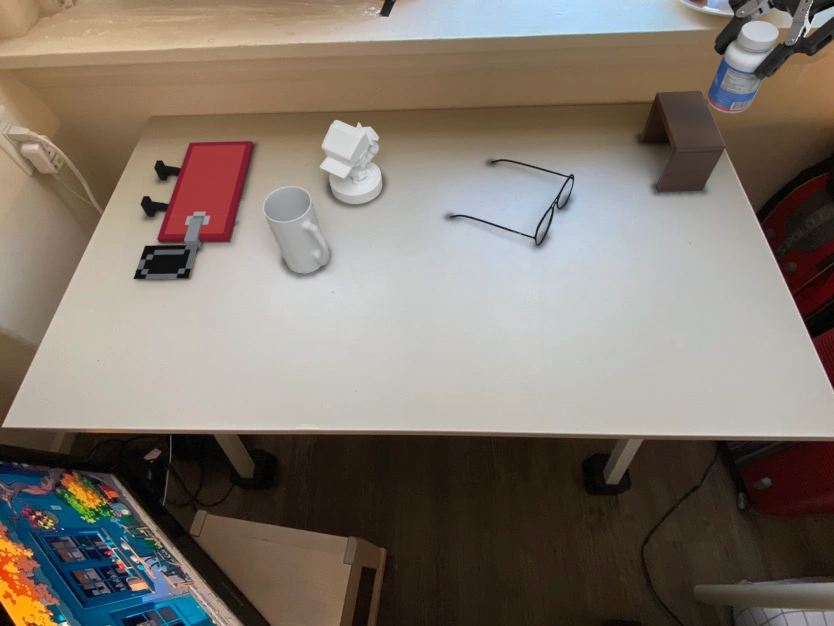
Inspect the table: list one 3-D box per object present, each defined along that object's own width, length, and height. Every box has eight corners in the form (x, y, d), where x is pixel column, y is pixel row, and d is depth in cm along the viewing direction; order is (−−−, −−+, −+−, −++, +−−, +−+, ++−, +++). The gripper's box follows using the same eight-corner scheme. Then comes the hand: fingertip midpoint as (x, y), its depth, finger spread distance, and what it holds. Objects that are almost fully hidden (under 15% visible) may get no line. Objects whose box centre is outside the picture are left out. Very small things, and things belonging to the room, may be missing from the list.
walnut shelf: (702, 190, 89) (725, 146, 82) (657, 192, 90) (677, 148, 82) (681, 135, 96) (701, 90, 89) (640, 137, 96) (656, 92, 89)
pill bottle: (715, 82, 75) (745, 11, 66) (756, 95, 73) (793, 24, 65) (699, 106, 73) (728, 35, 64) (741, 120, 71) (777, 49, 62)
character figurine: (392, 179, 94) (385, 120, 84) (358, 215, 90) (347, 158, 80) (351, 160, 97) (339, 102, 87) (316, 195, 93) (300, 138, 83)
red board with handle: (123, 283, 85) (221, 281, 84) (114, 271, 83) (215, 270, 82) (172, 149, 101) (254, 147, 101) (165, 136, 99) (249, 134, 98)
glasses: (535, 253, 84) (536, 230, 80) (450, 225, 90) (447, 202, 86) (573, 192, 90) (576, 168, 86) (491, 169, 96) (490, 146, 92)
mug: (275, 259, 86) (252, 206, 76) (307, 233, 89) (289, 178, 79) (319, 294, 82) (300, 243, 72) (351, 266, 85) (338, 212, 75)
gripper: (802, -124, 60) (683, 23, 68) (930, -74, 53) (781, 84, 61) (810, -85, 66) (699, 47, 73) (927, -35, 59) (791, 105, 67)
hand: (737, 63), depth 67 cm, fingers closed on pill bottle, 5 cm apart
